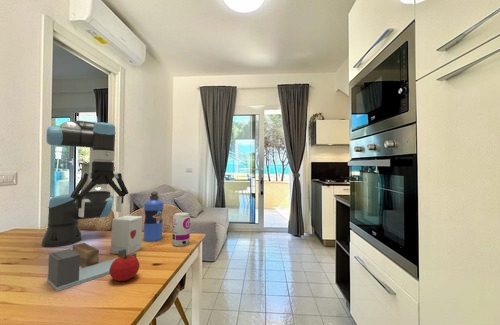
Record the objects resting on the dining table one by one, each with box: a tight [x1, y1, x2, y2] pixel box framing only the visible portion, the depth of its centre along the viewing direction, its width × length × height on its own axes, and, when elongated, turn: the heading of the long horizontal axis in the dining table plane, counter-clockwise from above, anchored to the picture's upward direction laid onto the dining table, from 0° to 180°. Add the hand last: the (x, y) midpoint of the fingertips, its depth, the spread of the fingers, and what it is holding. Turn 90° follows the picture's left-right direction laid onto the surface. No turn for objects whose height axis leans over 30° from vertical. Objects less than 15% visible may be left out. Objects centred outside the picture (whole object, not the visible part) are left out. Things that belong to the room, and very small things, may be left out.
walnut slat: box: [71, 242, 100, 268], centre depth 88 cm, size 4×14×6 cm, turn 55°
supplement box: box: [110, 215, 143, 255], centre depth 101 cm, size 9×9×15 cm
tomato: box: [109, 254, 140, 282], centre depth 76 cm, size 9×9×8 cm
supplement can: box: [171, 211, 191, 247], centre depth 112 cm, size 8×8×15 cm
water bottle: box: [142, 191, 164, 243], centre depth 119 cm, size 9×9×25 cm
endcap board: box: [46, 248, 137, 292], centre depth 80 cm, size 10×24×9 cm, turn 145°
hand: (101, 214), depth 90 cm, fingers open, 13 cm apart
